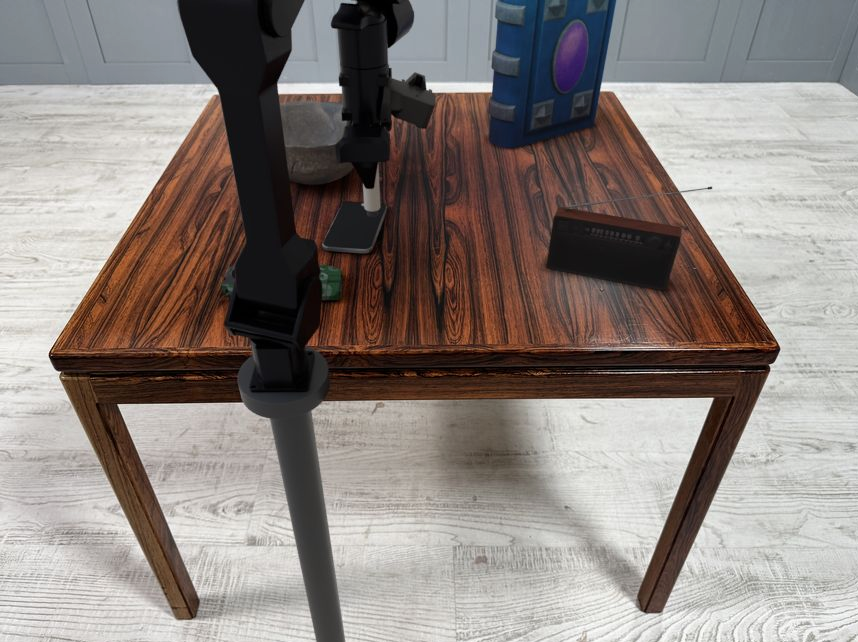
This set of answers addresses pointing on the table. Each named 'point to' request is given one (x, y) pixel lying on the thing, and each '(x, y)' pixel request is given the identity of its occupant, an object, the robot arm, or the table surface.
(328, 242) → the smartphone
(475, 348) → the table surface
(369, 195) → the white cylinder
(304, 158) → the bowl
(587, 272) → the radio
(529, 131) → the book
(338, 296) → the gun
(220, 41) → the robot arm
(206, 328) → the table surface
